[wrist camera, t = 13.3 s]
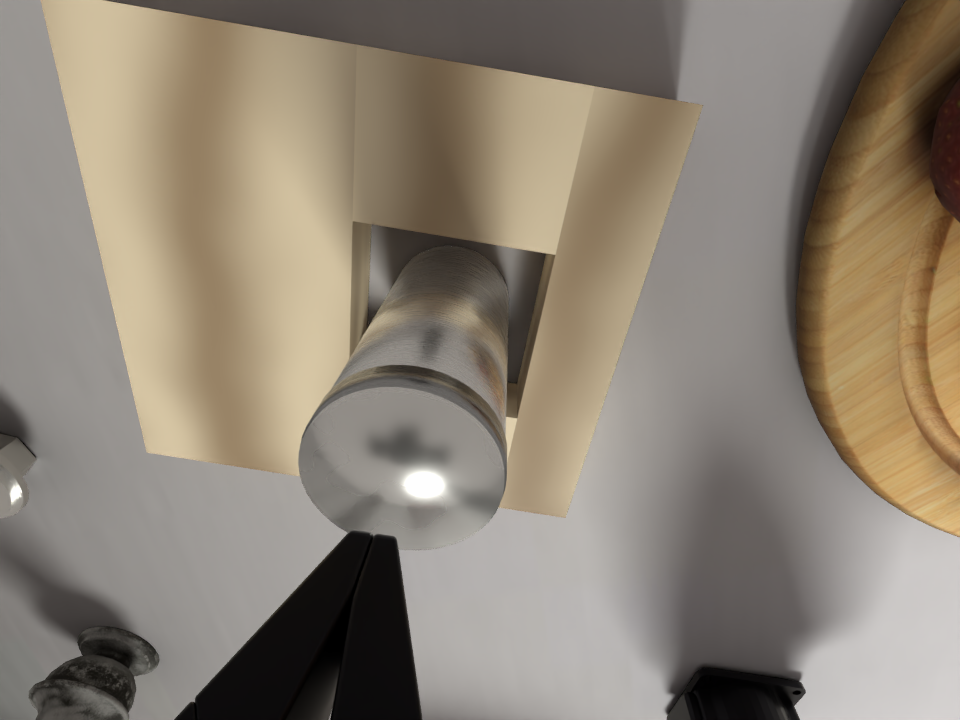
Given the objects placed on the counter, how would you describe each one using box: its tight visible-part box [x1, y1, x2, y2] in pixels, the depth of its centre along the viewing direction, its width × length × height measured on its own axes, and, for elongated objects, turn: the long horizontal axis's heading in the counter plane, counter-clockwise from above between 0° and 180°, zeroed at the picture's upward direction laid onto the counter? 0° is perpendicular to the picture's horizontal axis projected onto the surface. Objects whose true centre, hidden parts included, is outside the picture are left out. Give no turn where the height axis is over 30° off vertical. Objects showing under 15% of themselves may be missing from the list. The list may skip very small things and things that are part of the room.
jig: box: [41, 0, 703, 518], centre depth 18 cm, size 18×16×2 cm
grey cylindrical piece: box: [298, 246, 509, 550], centre depth 15 cm, size 5×5×10 cm
